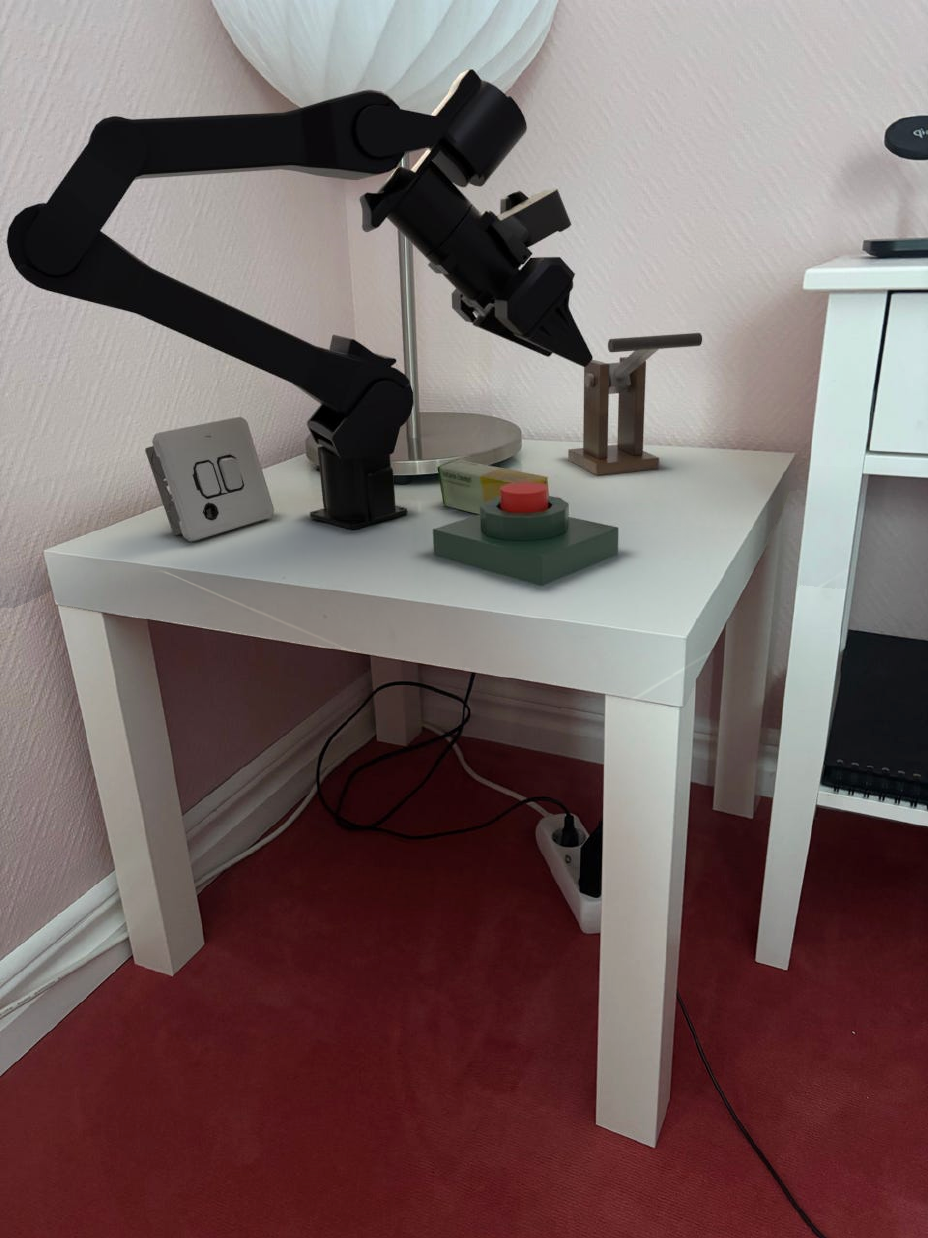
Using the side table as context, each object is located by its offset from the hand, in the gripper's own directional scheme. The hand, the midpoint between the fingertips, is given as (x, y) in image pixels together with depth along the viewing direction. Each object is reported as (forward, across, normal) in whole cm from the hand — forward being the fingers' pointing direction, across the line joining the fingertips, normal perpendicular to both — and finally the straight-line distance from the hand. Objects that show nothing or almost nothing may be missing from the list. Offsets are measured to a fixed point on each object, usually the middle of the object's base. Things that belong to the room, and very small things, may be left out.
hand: (569, 357), depth 83 cm
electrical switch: (-14, +1, +33) cm, 36 cm away
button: (-1, -17, +14) cm, 22 cm away
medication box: (+2, -6, +16) cm, 17 cm away
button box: (+2, -17, +16) cm, 23 cm away
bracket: (+15, +9, +3) cm, 17 cm away
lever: (+8, +4, -4) cm, 10 cm away
